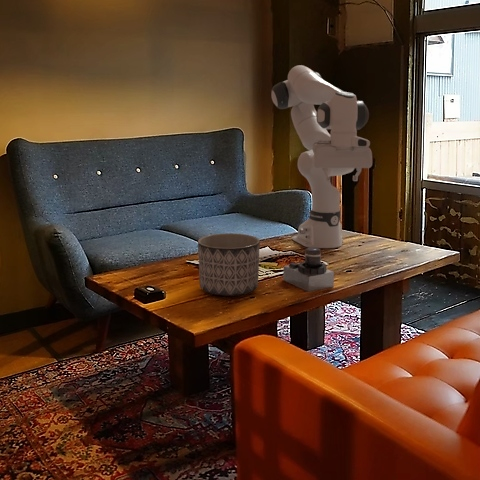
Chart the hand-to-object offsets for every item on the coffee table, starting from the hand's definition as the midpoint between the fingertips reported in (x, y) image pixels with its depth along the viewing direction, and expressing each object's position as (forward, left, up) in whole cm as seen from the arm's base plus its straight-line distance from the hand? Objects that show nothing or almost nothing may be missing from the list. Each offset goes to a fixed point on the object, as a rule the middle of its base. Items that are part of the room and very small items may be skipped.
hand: (341, 180), depth 216 cm
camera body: (+10, -21, -31) cm, 39 cm away
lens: (+12, -21, -26) cm, 36 cm away
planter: (+3, -47, -31) cm, 57 cm away
